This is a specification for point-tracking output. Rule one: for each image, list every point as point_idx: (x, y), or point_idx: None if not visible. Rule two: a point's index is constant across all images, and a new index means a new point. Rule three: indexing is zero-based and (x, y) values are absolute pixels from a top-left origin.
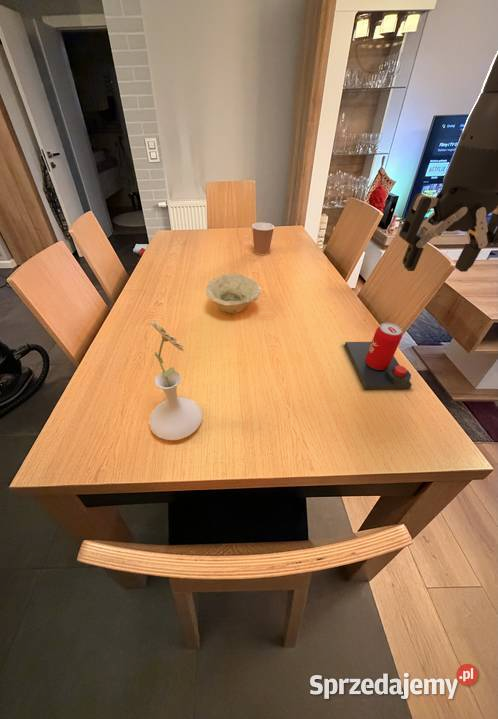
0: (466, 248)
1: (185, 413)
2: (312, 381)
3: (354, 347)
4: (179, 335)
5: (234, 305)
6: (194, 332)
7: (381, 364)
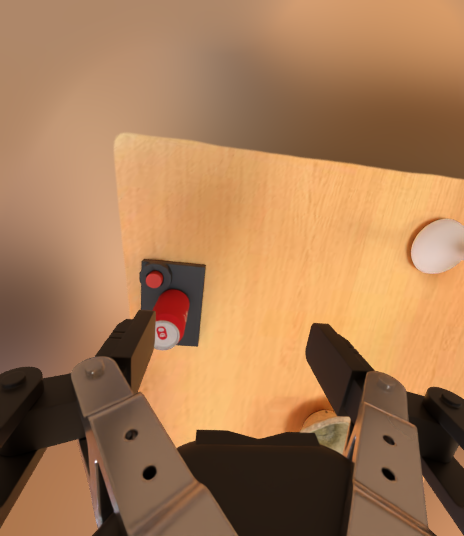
0: (136, 384)
1: (443, 242)
2: (265, 285)
3: (190, 335)
4: (396, 374)
5: (337, 416)
6: None
7: (175, 293)
